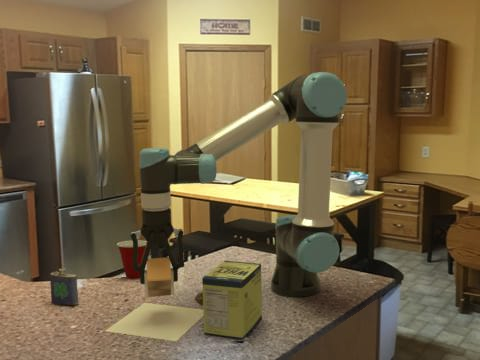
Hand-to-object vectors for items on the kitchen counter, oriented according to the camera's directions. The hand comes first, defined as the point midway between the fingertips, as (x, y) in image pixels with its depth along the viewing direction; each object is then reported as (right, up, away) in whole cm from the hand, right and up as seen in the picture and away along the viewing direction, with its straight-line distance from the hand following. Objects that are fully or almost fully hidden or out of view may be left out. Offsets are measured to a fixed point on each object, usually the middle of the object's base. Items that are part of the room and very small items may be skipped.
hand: (159, 294), depth 139 cm
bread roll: (+15, -6, +14) cm, 21 cm away
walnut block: (-1, +1, +4) cm, 4 cm away
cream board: (0, -8, 0) cm, 8 cm away
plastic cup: (-14, -3, +40) cm, 42 cm away
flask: (-30, -7, +16) cm, 35 cm away
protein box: (+20, -8, -4) cm, 22 cm away
